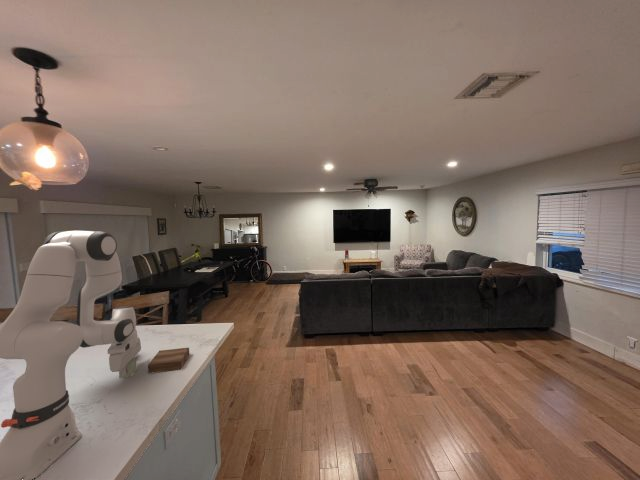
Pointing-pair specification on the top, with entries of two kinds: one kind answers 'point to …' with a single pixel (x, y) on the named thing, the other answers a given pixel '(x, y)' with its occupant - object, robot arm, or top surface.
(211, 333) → the top surface
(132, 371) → the sage block
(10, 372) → the top surface
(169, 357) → the walnut base
